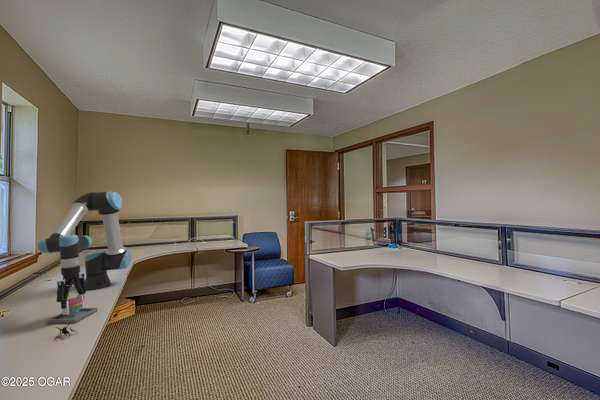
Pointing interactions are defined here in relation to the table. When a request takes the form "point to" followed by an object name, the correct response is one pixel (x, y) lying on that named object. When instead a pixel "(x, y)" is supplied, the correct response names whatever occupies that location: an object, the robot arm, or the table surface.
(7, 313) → the table surface
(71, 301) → the cupcake
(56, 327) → the creature
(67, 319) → the tray
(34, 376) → the table surface
